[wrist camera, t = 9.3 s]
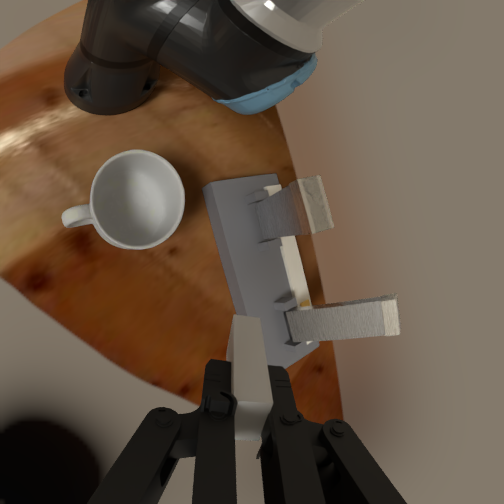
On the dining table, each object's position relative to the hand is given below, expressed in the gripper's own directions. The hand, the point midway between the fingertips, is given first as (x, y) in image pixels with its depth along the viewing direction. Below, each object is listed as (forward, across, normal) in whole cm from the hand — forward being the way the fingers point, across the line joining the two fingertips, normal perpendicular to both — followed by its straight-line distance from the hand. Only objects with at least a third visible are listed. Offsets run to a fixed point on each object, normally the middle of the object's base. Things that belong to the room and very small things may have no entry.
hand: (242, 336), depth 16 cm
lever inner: (+26, +3, +2) cm, 26 cm away
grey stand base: (+28, +5, -7) cm, 29 cm away
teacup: (+20, -16, +1) cm, 26 cm away
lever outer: (+22, +10, -12) cm, 27 cm away
